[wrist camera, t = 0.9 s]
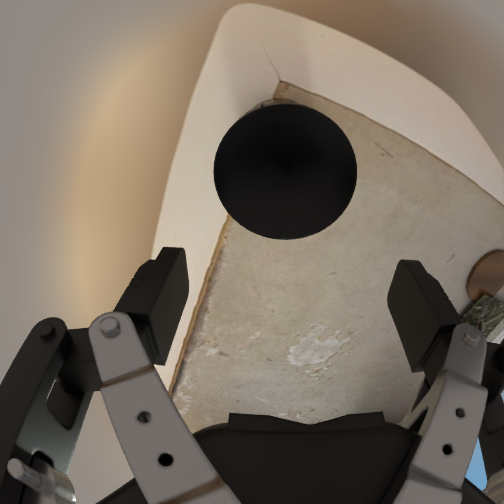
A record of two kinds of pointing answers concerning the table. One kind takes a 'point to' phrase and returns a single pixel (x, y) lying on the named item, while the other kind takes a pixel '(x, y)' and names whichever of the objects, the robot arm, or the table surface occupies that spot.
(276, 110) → the lid
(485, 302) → the eiffel tower figurine
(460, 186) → the table surface
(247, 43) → the table surface
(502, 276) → the coaster
